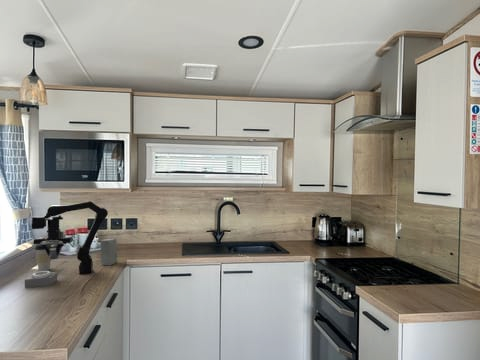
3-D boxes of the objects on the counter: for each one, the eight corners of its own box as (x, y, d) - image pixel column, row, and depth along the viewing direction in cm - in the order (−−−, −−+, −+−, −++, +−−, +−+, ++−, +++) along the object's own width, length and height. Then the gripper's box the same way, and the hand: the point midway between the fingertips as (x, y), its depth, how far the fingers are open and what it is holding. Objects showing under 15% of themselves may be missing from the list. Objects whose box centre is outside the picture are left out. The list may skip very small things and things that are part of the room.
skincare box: (109, 265, 199) (109, 240, 199) (99, 265, 201) (99, 240, 200) (117, 262, 207) (117, 238, 207) (108, 261, 209) (107, 237, 209)
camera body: (57, 280, 173) (56, 269, 172) (50, 285, 164) (50, 275, 164) (32, 281, 170) (32, 271, 170) (24, 287, 161) (24, 276, 161)
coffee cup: (32, 272, 186) (32, 247, 186) (38, 267, 196) (37, 243, 195) (50, 271, 189) (50, 246, 189) (55, 266, 198) (55, 242, 198)
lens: (59, 257, 180) (59, 244, 180) (56, 259, 176) (56, 246, 176) (51, 257, 179) (51, 245, 179) (47, 259, 175) (47, 246, 175)
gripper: (76, 225, 187) (76, 251, 187) (41, 226, 184) (42, 252, 184) (69, 228, 176) (69, 256, 176) (32, 229, 173) (33, 257, 173)
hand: (53, 255), depth 177 cm, fingers closed on lens, 4 cm apart
